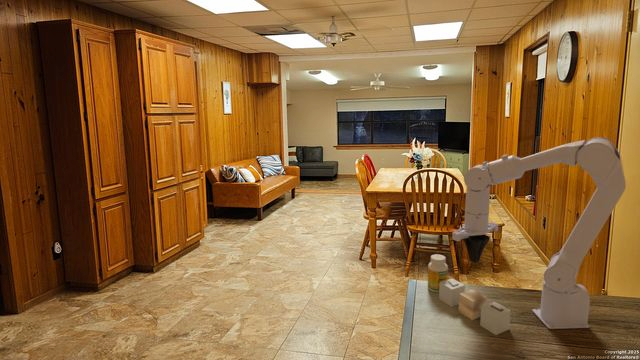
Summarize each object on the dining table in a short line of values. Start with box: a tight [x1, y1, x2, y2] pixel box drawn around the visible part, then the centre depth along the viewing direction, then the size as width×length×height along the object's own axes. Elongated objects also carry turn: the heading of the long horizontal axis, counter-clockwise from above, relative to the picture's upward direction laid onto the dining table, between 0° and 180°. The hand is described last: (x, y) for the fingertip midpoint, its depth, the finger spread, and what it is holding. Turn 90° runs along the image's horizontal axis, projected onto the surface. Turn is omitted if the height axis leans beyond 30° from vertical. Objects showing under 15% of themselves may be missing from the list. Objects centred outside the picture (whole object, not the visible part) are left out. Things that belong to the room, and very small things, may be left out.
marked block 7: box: [438, 277, 466, 307], centre depth 108 cm, size 4×4×5 cm
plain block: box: [457, 289, 487, 321], centre depth 102 cm, size 4×4×5 cm
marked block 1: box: [479, 301, 512, 336], centre depth 96 cm, size 4×4×5 cm
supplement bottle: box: [427, 253, 449, 294], centre depth 114 cm, size 5×5×10 cm
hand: (474, 260), depth 108 cm, fingers closed
